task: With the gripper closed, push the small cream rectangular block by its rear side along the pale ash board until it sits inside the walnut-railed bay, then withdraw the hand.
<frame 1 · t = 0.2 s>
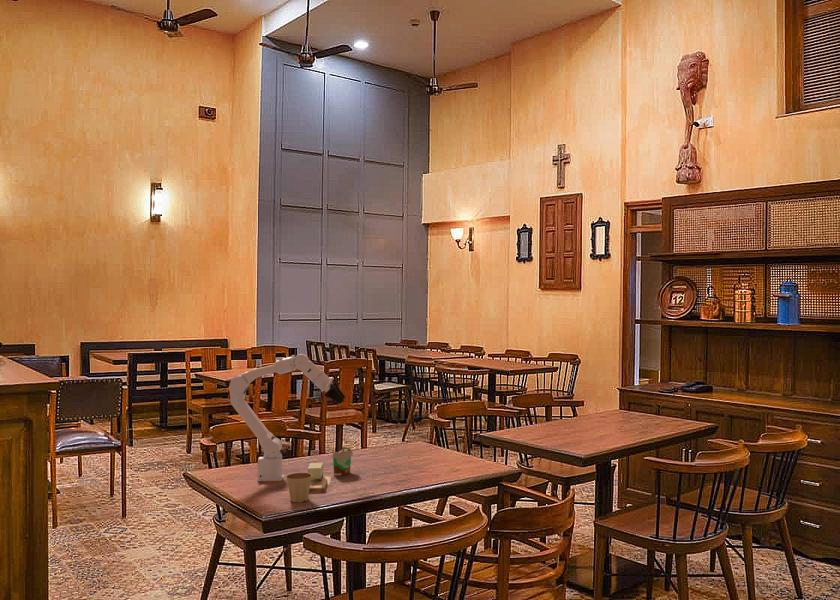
hand: (343, 400, 278), 31 cm above the table, tool tilted 45°, fingers open, 7 cm apart
cream rectangular block: (315, 479, 274), resting on dock board
flower pot: (299, 500, 247), on the table
food container: (344, 475, 283), on the table
dock board: (313, 485, 267), on the table
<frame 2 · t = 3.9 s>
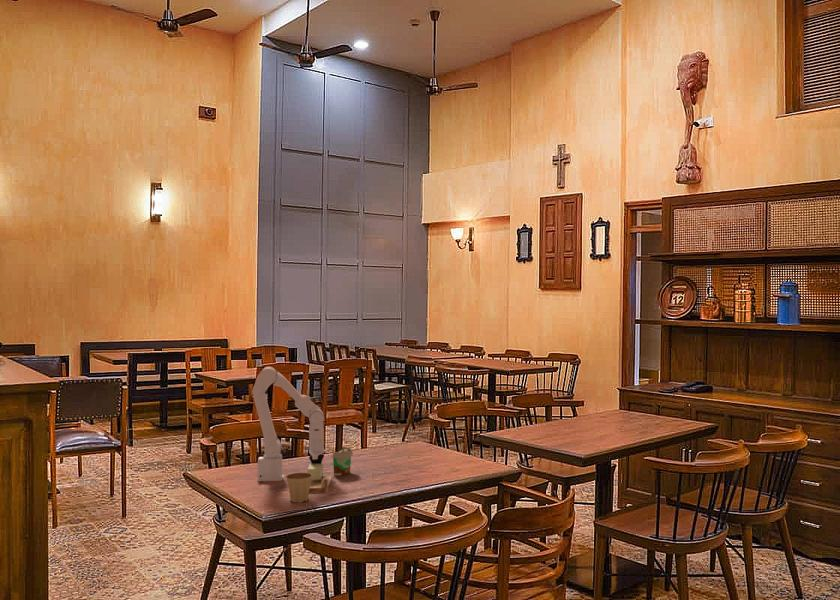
hand: (316, 473, 279), 1 cm above the table, tool pointing down, fingers closed
cream rectangular block: (315, 480, 273), resting on dock board, touching gripper
everything else where it was.
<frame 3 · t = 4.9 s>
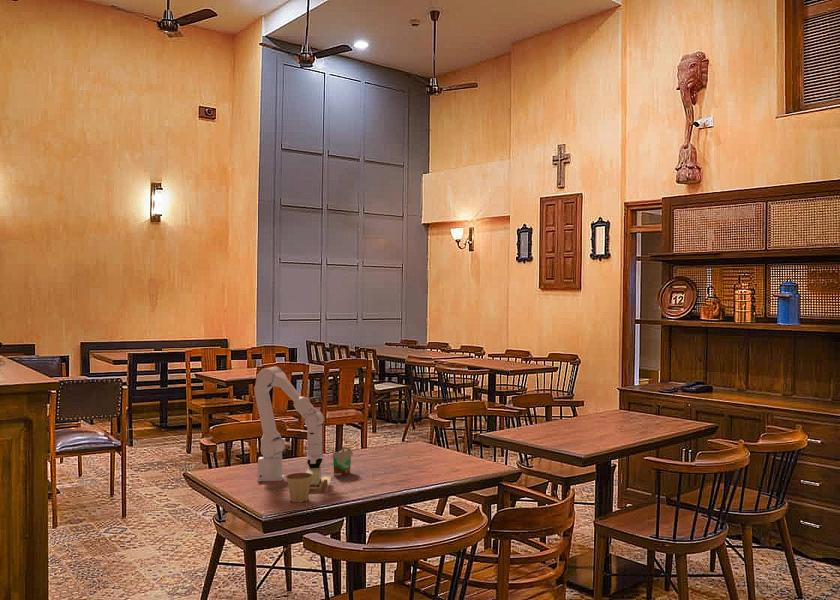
hand: (314, 478, 272), 1 cm above the table, tool pointing down, fingers closed
cream rectangular block: (313, 485, 265), resting on dock board, touching gripper
everything else where it was.
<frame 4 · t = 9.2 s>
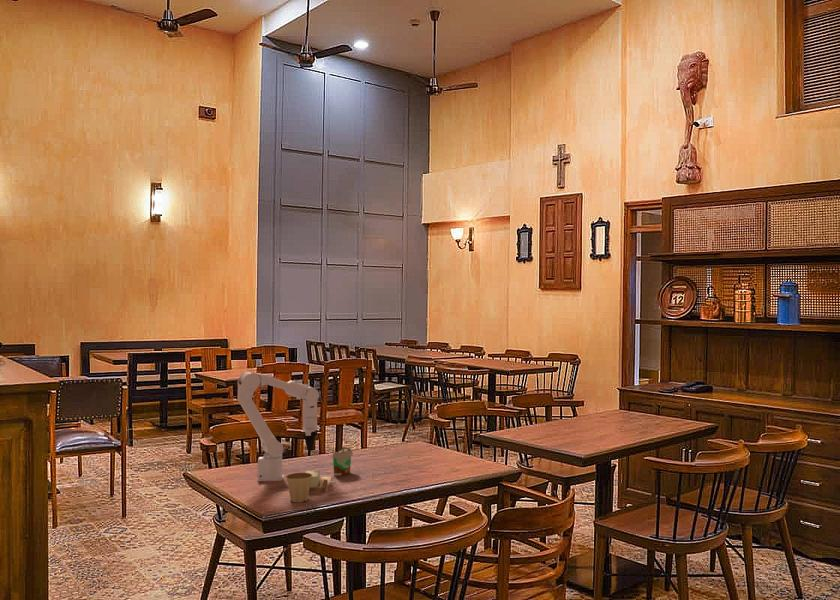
hand: (310, 450, 283), 10 cm above the table, tool pointing down, fingers closed
cream rectangular block: (311, 488, 261), resting on dock board
everything else where it was.
at the end: cream rectangular block 0.5 cm from the target spot, resting on dock board; cream rectangular block tilted 0° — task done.
